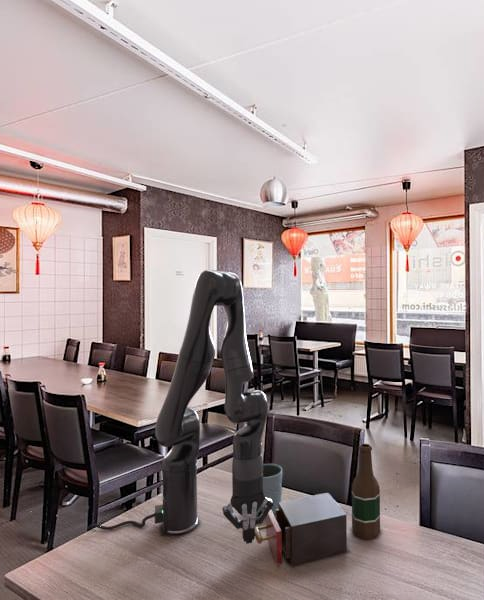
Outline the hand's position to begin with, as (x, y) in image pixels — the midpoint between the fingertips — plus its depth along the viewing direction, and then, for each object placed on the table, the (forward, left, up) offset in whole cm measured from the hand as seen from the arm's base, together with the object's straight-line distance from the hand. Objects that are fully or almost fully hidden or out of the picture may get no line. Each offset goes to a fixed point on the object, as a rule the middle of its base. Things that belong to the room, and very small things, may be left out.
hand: (248, 541), depth 103 cm
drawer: (+10, 0, -4) cm, 11 cm away
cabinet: (+17, 0, -5) cm, 17 cm away
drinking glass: (+10, +22, -5) cm, 25 cm away
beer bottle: (+33, 0, -5) cm, 33 cm away
